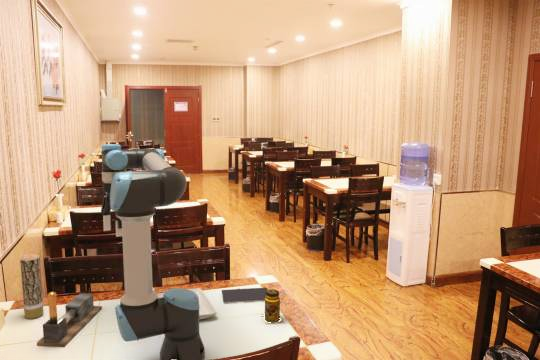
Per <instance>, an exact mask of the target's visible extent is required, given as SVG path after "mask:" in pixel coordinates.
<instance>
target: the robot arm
mask: <svg viewBox="0 0 540 360" xmlns="http://www.w3.org/2000/svg"><path fill="white" fill-rule="evenodd" d="M100 153H101V181H102V182H103V183H102V187H101V188H102V193H103V195H102V203H101V209H100V213H101V214H102V215H103V217H102V218H103V219H102V220H103V232H108V231H112V228H111V215H112V214H111V211H112V212H114V215H115V220H114V221H115V237H117V238H119V237H122V257H123V278H124V280H123V281H124V282H123V283H124V293H123V295H122V296H121V297H120V299H119V301H120V302H119V303H120V304H117V305H116V306H115V307H114V309H115V311H114V312H115V316H116V317H115V318H116V322H117V326H118V329H119V334H120V336H121V338H122V341H125V342H134V341H139V340H144V339H148V338H152V337H157V336H161V335H164V338H163V341H162V344H161V347H160V351H159V360H171V359H177V360H202V359H203V358H204V359H205V353H206V351H205V349H206V348H205V346H204V343H203V339H202V337H201V334H200V319H199V308H200V306H199V298H198V295H197V294H196V293H195V292H193V291H191V290H187V288H181V287H179V288H175V287H174V288H169V289H167V290H165V291H164V292H163V293H164V294H163V297H162V298H158V295H157V294H158V293H157V292H155V291H154V289H153V288H154V287H153V284H154V283H153V261H152V258H153V257H152V234H151V230H152V229H151V218H152V217H153V216H154V215H156V208H159V207H167V206H170V205H172V204H175V203H176V202H178V201H179V200H180V199H181V198H182V196H183V195H184V194H185V192H186V190H187V185H188V181H187V177H186V176H185V174H184V173H183V172H182V171H181V170H180V169H179V168H178V167H175V166H171V165H170V164H169V163H168V161H166V159H165V158H166V157H165V153H164V151H163V149H161V148H142V149H141V148H139V149H138V148H137V149H135V148H134V149H122V145H121V144H117V143H116V144H115V143H113V144H112V143H105V144H104V143H103V144H102V145H101V152H100ZM127 169H128V170H129V171H122V170H127ZM130 169H133V170H130ZM134 169H144V170H134ZM204 359H203V360H204Z"/></svg>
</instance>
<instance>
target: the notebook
mask: <svg viewBox="0 0 540 360" xmlns="http://www.w3.org/2000/svg"><path fill="white" fill-rule="evenodd" d="M268 290H269V289H268V288H267V287H252V288H235V289H234V288H233V289H222V290H221V294H222V301H223V303H224V304H225V303H227V304H238V303H237V302H244V303H255V302H254V301H262V302H265V298H266V292H267V291H268Z"/></svg>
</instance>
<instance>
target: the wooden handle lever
mask: <svg viewBox="0 0 540 360" xmlns="http://www.w3.org/2000/svg"><path fill="white" fill-rule="evenodd" d="M57 296H58V295H57V292H55V291H50V292H48V293H47V295H46V297H47V299H48V313H49V319H50V324H56V325H57V324H58V323H59V322H60V321H61V320H62V319H63V318H66V322H67V323H68V322H69V321H70V320H71V319H72V318H73V317H74V316H76V315H77V308H71V309H70V310H69V311H68V312H66V311H65V313H64V314H63V315H62V316H60V318H58V312H57V309H58V308H57Z"/></svg>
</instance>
